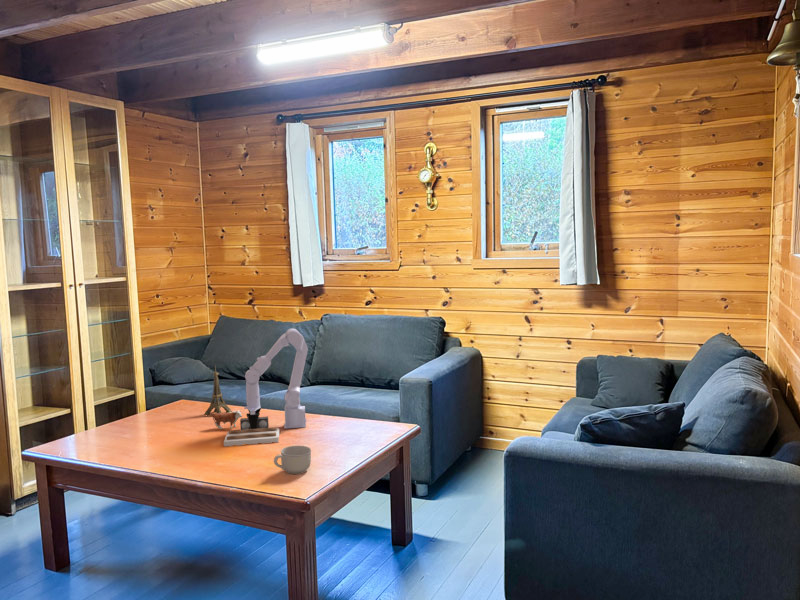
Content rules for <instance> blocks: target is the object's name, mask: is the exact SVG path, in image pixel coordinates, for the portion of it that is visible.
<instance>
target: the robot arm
mask: <svg viewBox="0 0 800 600" xmlns="http://www.w3.org/2000/svg"><path fill="white" fill-rule="evenodd" d="M290 345H292V346H293V347H294V349H295V350H296V353H295V358H294V361H293V366H292V372H291V376H290V381H289V385H288V387H287V390H286V392H285V394H284V396H283V398H284V399H283V400H284V401H285V405H284V406H283V407H284V426H283V427H284V430H285V429H296V428H297V429H298V428H306V426H307V418H306V406H305V405H301V398H300V397H301V396H300V394H301V385H302V379H303V375H304V369H305V365H306V360H307V356H308V351H309V348H308V345H307V343H306V341H305V338H304V335H302V334H301V333H300V332H299V331H298V329H296V328H294V327H291V328H287V330H286V331H285V333H283V334H282V335H280V337H279V338H278V339H277V340H276V342H275V343H274V344H273V345H272V347H271V348H270V349H269V351H268V352H267V353H266V354H265V355H261V356H258V357H257V358H256V362H255V363H254V364H253V365H252V366H250V367H249V369H248V370H247V371H246V372H245V373H244V379H245V393H246V394H245V395H246V396H245V397H246V406H244V410H247V411H248V412H247V413H246V418H248V419H249V422H250V426H251V429H256V428H257V421H258V417H260V413H261V410H262V407H261V398H260V395H261V394H260V385H259V380H260V376H262V375H263V374H264V373H265V372H266V371H267V370H268V369H269V368H270V366H271V365H272V360H273V358H274V357H276V356H277V355H278V353H279V352H280V351H281V350H282V349H283V348H285V347H288V346H289V347H290Z"/></svg>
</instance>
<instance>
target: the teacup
mask: <svg viewBox="0 0 800 600" xmlns="http://www.w3.org/2000/svg"><path fill="white" fill-rule="evenodd" d="M311 458H312V449H311V448H310V447H309V446H306V445H289V446H285V447H283V448H282V449H280V454H276V455H275V457H274V458H273V463H274V465H275V466H276V467H278V468H280V469H281V470H283V471H285V472H286V473H288V474H289V475H300V474H303V473H305V472H306V471H307V470H308V469H309V468H310V466H311V461H312V459H311ZM278 459H281V461H280V462H281V464H279V463H278Z"/></svg>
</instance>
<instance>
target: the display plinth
mask: <svg viewBox="0 0 800 600" xmlns="http://www.w3.org/2000/svg"><path fill="white" fill-rule="evenodd" d="M279 441H280V427H279V428H278V427H277V426H274V427H272V426H271V427H269V428H259V429H246V430H241V429H236V430H235V429H232V430H228V431H227V432H226V435H225V438H224V440H223V446H224V447H234V446H233V445H237V446H244V445H243V444H249V445H259V444H258V443H262V444H271V443H272V442H274V443H279Z"/></svg>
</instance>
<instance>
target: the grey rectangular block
mask: <svg viewBox="0 0 800 600" xmlns="http://www.w3.org/2000/svg"><path fill="white" fill-rule="evenodd" d="M239 425H240V427H239V428H240V430H246V429H251V426H250V422H249V419H248V417H240V420H239ZM269 426H270V425H269V416H259V417H258V421H257V428H256V429H259V428H270V427H269Z"/></svg>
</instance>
